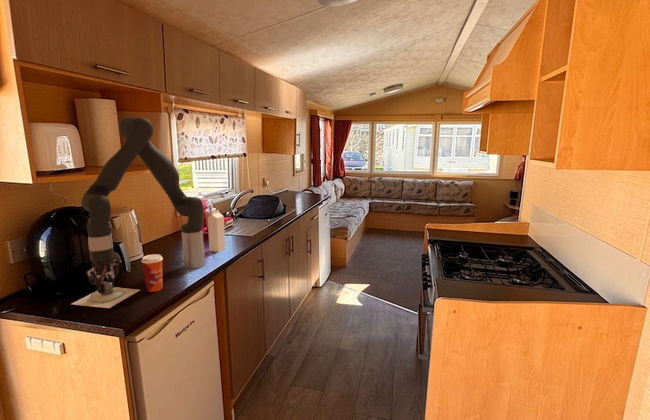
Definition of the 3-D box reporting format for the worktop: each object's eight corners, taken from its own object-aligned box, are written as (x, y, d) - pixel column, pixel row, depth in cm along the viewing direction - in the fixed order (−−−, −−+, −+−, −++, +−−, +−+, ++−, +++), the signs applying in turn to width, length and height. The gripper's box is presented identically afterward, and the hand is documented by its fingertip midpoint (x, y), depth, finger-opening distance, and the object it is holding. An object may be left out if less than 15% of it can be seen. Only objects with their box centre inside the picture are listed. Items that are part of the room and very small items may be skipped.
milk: (225, 249, 195) (223, 210, 190) (218, 252, 189) (216, 212, 185) (216, 248, 197) (214, 209, 193) (209, 251, 191) (207, 211, 187)
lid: (105, 288, 139) (104, 276, 138) (130, 290, 138) (129, 278, 137) (82, 300, 129) (80, 288, 128) (109, 303, 127) (107, 290, 126)
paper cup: (156, 295, 136) (152, 260, 133) (139, 293, 138) (136, 258, 135) (169, 287, 143) (167, 254, 141) (154, 285, 145) (151, 252, 143)
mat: (105, 287, 142) (105, 286, 142) (140, 291, 140) (140, 289, 139) (70, 305, 127) (70, 304, 127) (109, 309, 124) (109, 308, 124)
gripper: (107, 241, 137) (112, 282, 140) (75, 252, 123) (82, 297, 127) (124, 242, 136) (129, 284, 139) (94, 253, 122) (100, 299, 125)
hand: (106, 290), depth 133 cm, fingers closed on lid, 4 cm apart
